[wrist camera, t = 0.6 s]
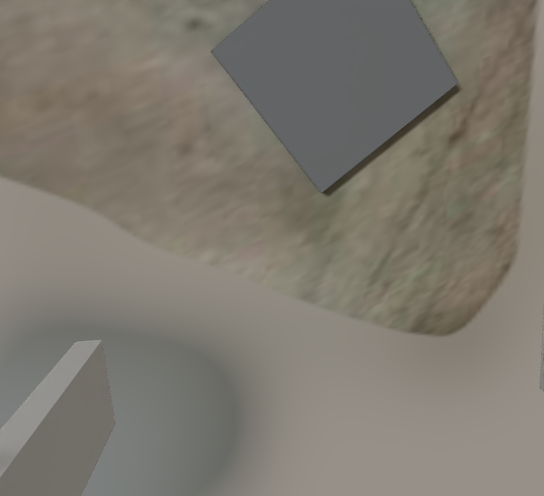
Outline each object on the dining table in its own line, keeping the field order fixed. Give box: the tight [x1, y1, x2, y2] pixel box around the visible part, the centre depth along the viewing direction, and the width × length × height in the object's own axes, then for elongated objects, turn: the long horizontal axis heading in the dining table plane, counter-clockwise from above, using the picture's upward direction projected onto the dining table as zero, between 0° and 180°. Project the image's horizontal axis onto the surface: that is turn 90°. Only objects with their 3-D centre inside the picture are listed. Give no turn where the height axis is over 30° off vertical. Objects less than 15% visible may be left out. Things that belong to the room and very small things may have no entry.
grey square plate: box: [211, 0, 458, 193], centre depth 33 cm, size 12×12×1 cm
